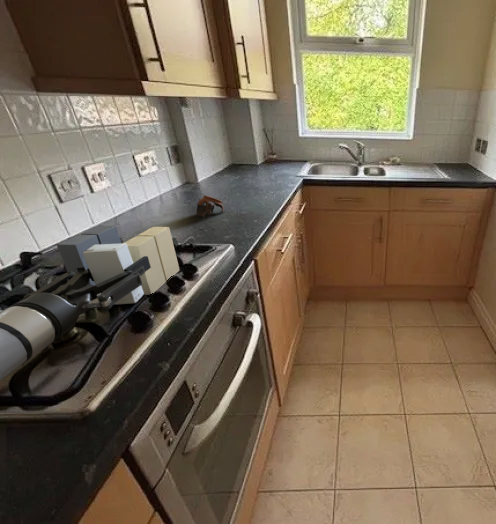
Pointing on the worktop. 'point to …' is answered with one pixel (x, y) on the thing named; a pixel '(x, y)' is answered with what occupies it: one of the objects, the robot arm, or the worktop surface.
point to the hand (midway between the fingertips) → (130, 261)
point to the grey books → (86, 246)
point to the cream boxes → (154, 256)
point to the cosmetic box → (111, 266)
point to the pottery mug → (208, 205)
